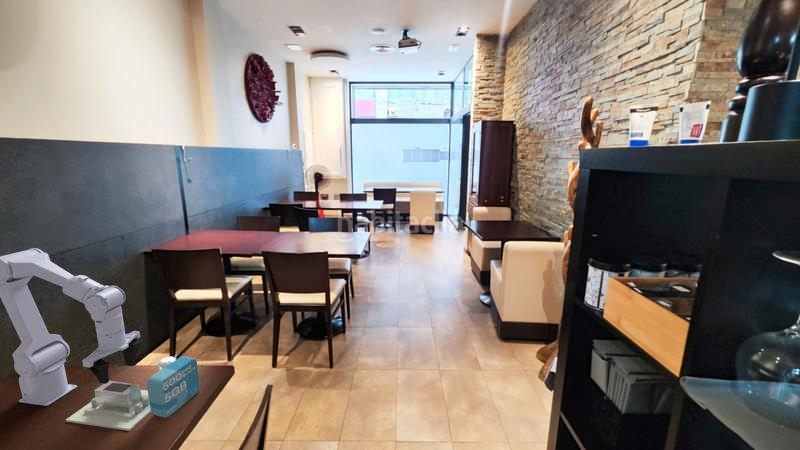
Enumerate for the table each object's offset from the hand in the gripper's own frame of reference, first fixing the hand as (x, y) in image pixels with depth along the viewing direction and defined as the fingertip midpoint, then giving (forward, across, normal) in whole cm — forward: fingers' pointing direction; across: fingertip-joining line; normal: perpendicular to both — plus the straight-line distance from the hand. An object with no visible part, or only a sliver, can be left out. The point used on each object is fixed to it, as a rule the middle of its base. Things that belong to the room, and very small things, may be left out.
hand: (117, 373), depth 92 cm
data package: (+10, +2, -16) cm, 19 cm away
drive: (+9, -2, -2) cm, 9 cm away
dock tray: (+9, -2, -2) cm, 10 cm away
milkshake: (+10, +9, -8) cm, 15 cm away
